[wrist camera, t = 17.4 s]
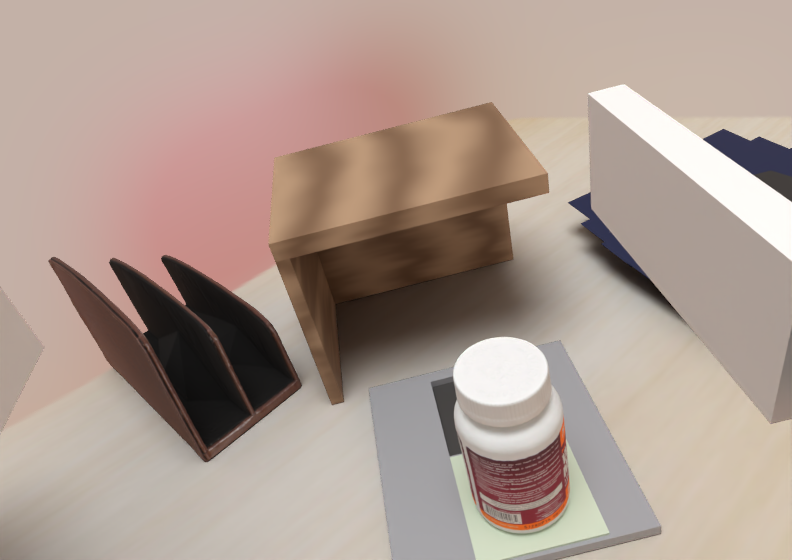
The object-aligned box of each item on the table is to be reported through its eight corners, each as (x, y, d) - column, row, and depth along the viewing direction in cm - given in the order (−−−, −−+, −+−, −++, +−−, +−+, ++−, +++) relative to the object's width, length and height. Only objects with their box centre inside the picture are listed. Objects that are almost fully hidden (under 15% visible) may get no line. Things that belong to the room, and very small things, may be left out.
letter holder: (207, 466, 49) (125, 333, 41) (110, 366, 62) (33, 250, 54) (304, 387, 54) (248, 254, 45) (195, 310, 67) (136, 196, 59)
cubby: (331, 404, 51) (268, 244, 42) (325, 300, 63) (274, 157, 54) (560, 347, 51) (547, 173, 41) (510, 253, 63) (491, 102, 53)
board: (399, 598, 37) (395, 589, 36) (370, 395, 51) (368, 386, 50) (660, 533, 37) (661, 524, 36) (560, 347, 51) (559, 338, 50)
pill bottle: (590, 508, 38) (584, 379, 31) (503, 555, 37) (477, 431, 30) (535, 439, 43) (519, 315, 36) (456, 479, 42) (425, 358, 35)
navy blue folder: (731, 145, 68) (738, 114, 66) (1062, 300, 47) (1090, 264, 45) (551, 232, 62) (552, 202, 60) (839, 455, 41) (858, 423, 39)
